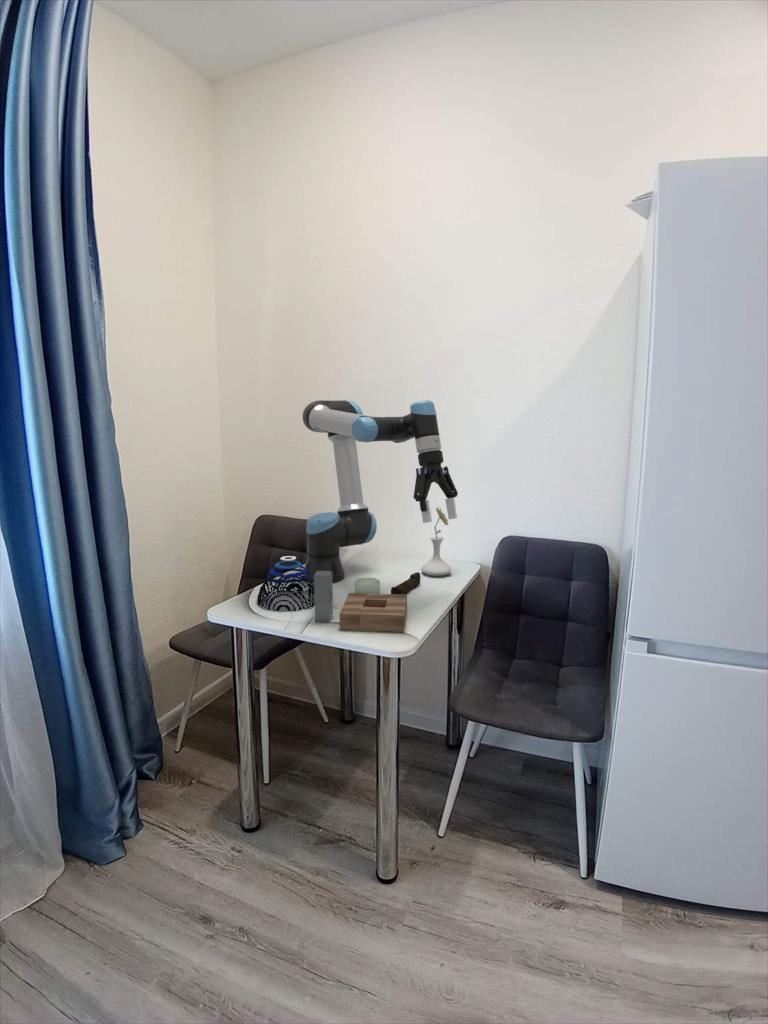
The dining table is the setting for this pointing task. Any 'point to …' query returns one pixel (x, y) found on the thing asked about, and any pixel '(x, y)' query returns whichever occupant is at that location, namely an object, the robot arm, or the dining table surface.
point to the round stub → (367, 585)
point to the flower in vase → (437, 554)
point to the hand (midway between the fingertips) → (440, 520)
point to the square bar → (323, 596)
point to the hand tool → (407, 584)
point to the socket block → (374, 612)
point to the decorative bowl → (289, 587)
